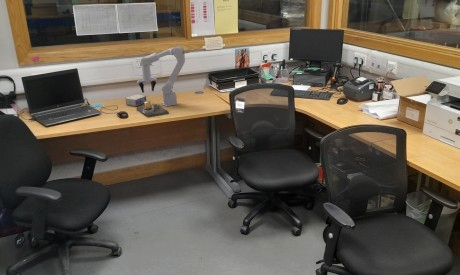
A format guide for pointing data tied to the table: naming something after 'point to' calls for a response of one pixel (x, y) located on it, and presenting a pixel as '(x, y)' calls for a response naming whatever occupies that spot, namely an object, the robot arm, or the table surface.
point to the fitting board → (156, 111)
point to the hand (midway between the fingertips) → (147, 91)
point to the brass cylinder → (147, 105)
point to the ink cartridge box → (135, 100)
